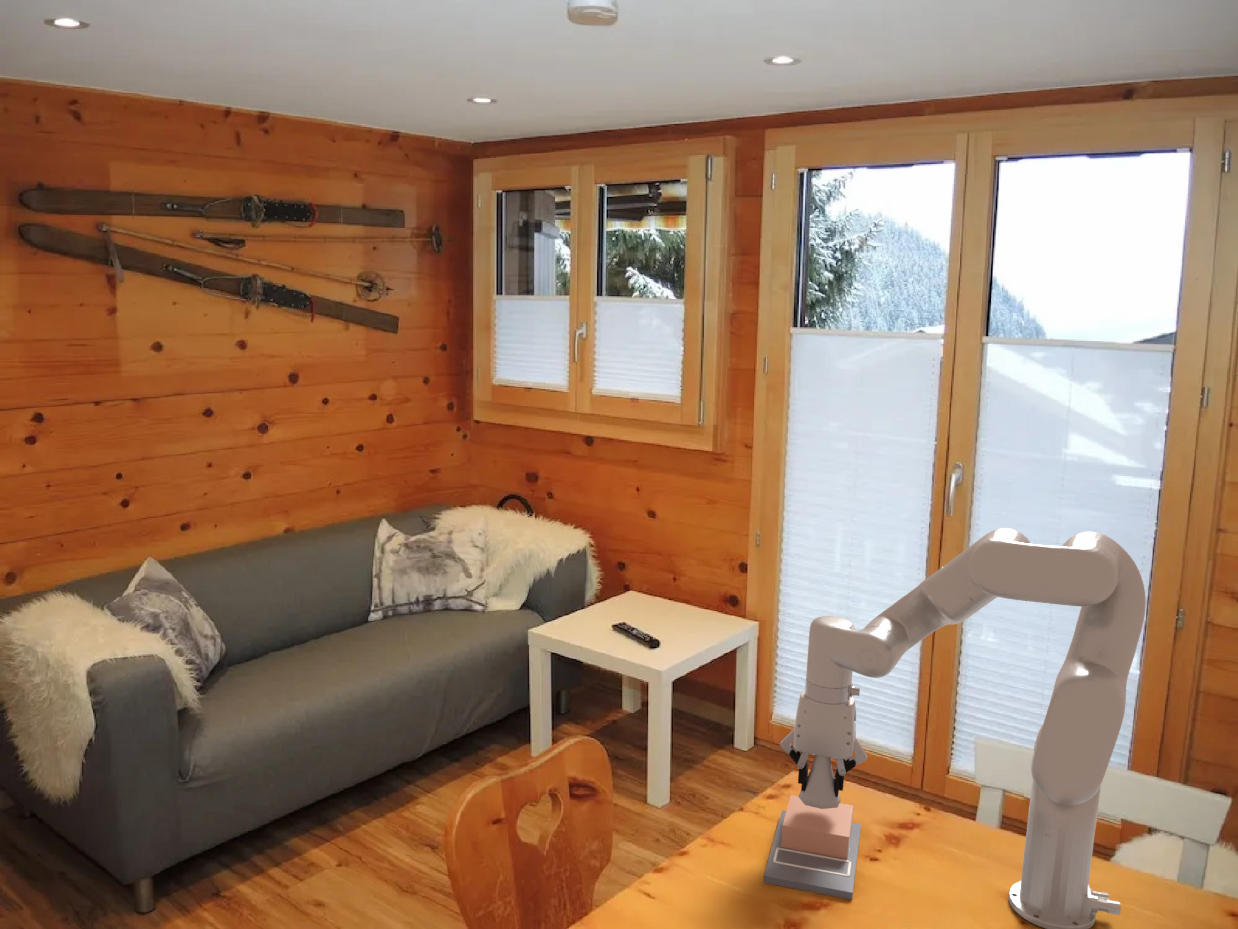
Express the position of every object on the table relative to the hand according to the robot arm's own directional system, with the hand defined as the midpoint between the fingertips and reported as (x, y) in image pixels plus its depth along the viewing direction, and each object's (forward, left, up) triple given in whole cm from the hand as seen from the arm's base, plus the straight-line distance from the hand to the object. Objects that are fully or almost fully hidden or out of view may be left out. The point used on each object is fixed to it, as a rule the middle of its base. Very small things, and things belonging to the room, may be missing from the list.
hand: (820, 789), depth 174 cm
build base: (0, +4, -10) cm, 11 cm away
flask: (0, 0, -2) cm, 2 cm away
